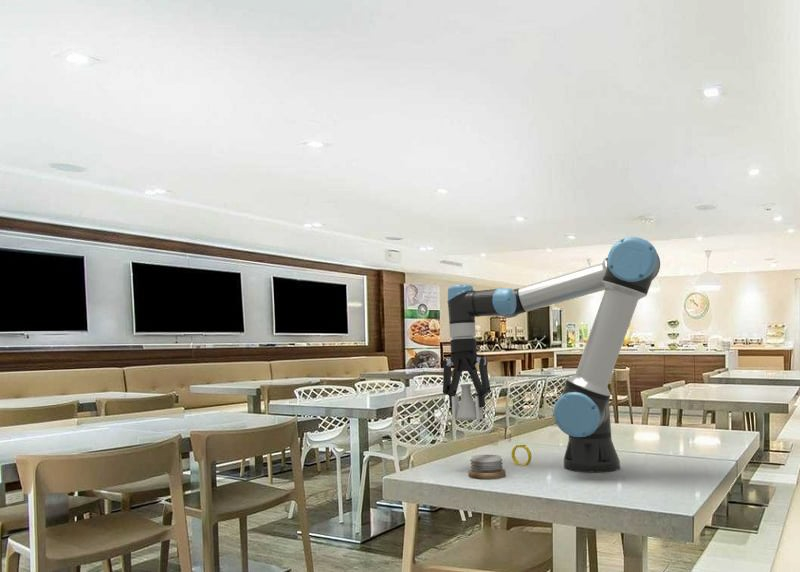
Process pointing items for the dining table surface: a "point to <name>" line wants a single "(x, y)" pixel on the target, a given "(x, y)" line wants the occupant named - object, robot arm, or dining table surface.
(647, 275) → the robot arm
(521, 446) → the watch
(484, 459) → the pedestal
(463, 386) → the flask
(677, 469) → the dining table surface
